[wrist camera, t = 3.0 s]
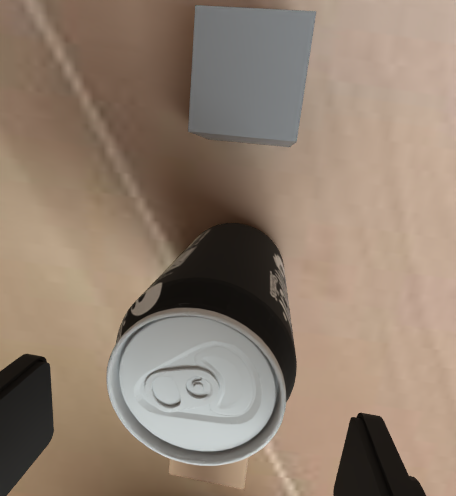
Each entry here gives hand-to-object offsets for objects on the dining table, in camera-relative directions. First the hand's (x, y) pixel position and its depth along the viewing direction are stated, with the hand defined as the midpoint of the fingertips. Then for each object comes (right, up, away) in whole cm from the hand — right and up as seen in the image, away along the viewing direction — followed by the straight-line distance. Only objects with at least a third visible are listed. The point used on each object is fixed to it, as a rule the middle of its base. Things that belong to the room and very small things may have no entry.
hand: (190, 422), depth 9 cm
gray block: (+3, +14, +9) cm, 17 cm away
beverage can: (+2, +4, +12) cm, 13 cm away
